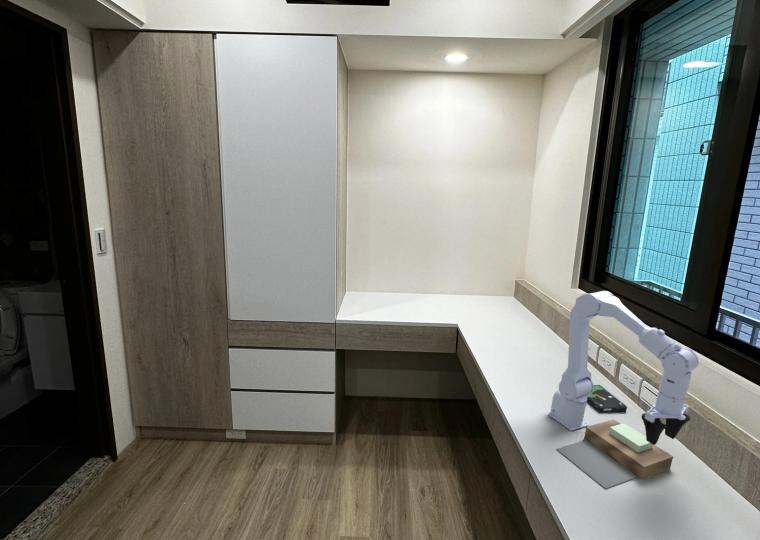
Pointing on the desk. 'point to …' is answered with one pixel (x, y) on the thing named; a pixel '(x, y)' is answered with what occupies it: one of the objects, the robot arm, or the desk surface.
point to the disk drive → (605, 401)
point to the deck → (628, 452)
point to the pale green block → (630, 437)
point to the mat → (596, 464)
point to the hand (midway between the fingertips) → (660, 439)
